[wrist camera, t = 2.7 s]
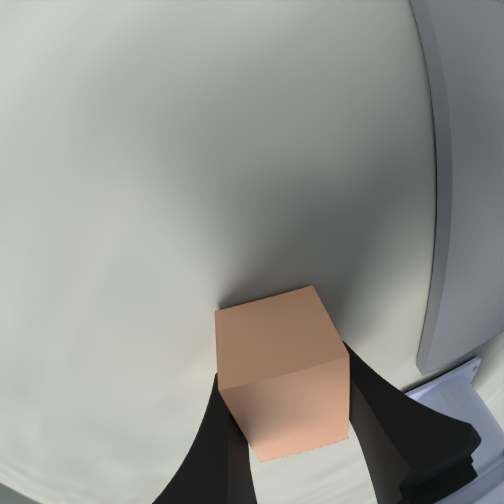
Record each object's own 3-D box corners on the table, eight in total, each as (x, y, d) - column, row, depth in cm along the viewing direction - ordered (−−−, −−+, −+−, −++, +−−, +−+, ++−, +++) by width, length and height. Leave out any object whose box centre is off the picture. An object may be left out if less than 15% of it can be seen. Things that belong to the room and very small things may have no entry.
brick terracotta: (324, 376, 15) (348, 438, 11) (250, 396, 15) (260, 461, 11) (312, 285, 12) (349, 354, 8) (214, 311, 12) (218, 389, 8)
